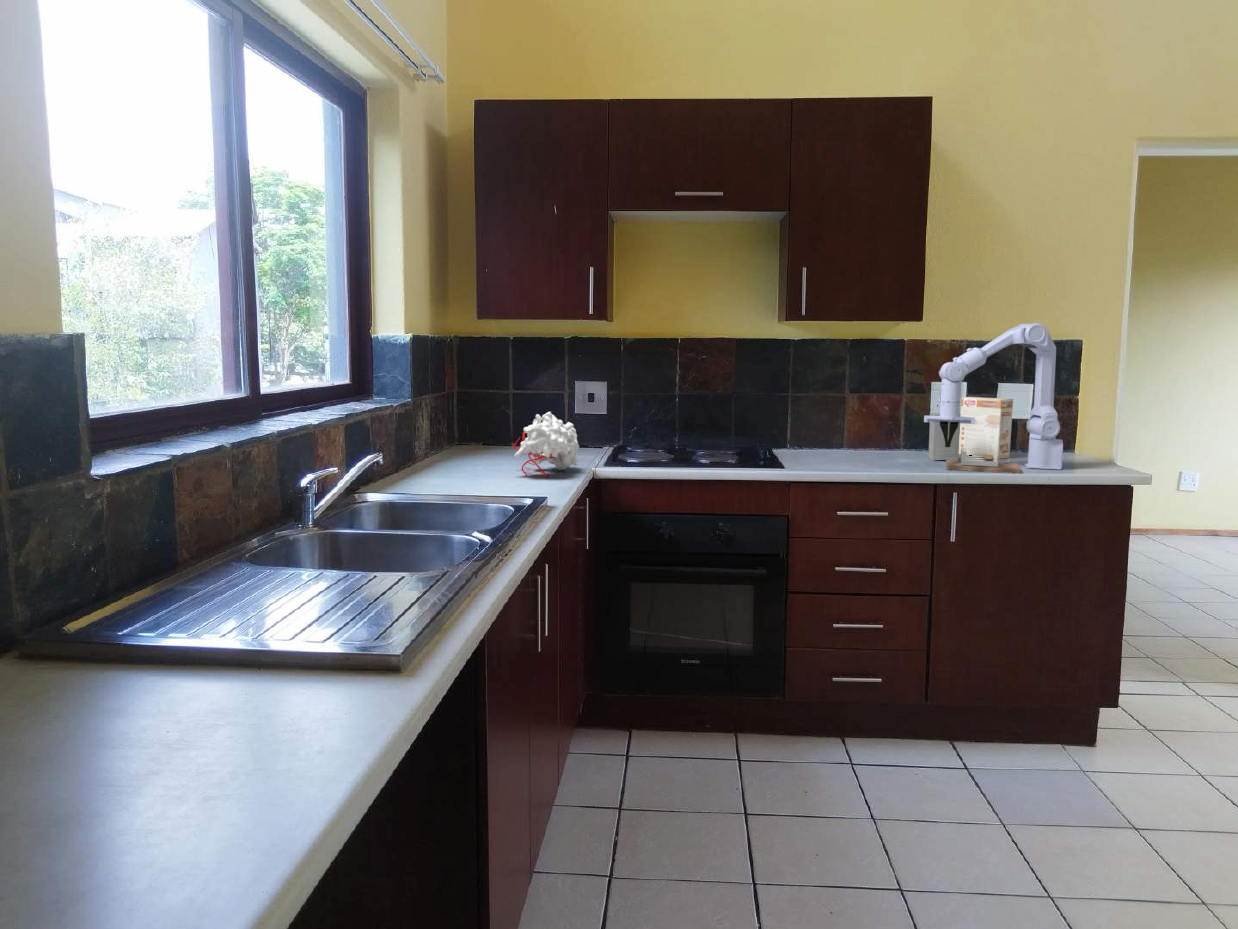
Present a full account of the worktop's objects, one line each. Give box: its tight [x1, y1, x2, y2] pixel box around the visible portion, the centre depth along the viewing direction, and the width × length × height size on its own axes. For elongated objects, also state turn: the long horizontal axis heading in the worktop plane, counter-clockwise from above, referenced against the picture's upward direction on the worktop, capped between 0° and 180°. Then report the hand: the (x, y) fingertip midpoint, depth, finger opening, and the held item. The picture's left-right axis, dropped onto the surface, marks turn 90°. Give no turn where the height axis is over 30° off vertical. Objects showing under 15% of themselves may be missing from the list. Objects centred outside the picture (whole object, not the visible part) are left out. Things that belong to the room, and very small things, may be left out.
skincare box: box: [928, 410, 960, 461], centre depth 291 cm, size 8×7×16 cm
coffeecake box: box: [959, 396, 1014, 460], centre depth 302 cm, size 15×7×20 cm, turn 34°
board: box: [945, 455, 1021, 474], centre depth 273 cm, size 20×14×4 cm
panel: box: [959, 447, 999, 467], centre depth 273 cm, size 10×11×4 cm
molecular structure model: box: [511, 411, 580, 478], centre depth 255 cm, size 20×18×25 cm
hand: (947, 446), depth 276 cm, fingers closed
